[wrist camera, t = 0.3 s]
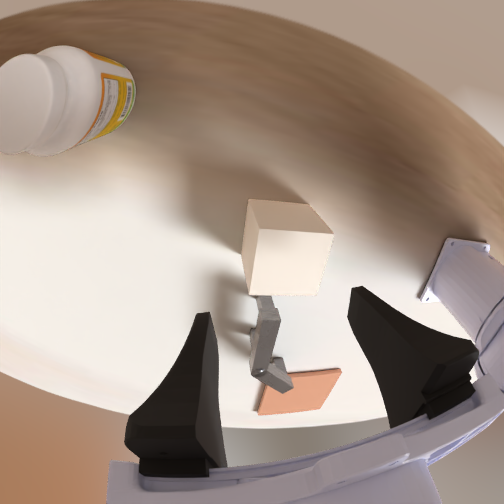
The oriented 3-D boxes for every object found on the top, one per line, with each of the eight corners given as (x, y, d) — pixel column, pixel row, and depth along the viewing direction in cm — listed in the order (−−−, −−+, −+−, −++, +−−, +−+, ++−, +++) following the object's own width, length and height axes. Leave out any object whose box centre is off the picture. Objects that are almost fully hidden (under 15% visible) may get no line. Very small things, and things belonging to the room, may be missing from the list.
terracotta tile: (340, 368, 31) (341, 372, 31) (318, 405, 36) (319, 408, 35) (268, 374, 30) (269, 378, 29) (257, 411, 34) (257, 415, 34)
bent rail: (308, 290, 24) (321, 319, 21) (284, 366, 29) (291, 393, 26) (255, 290, 24) (262, 320, 20) (241, 367, 29) (245, 396, 25)
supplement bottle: (55, 91, 13) (-41, 102, 5) (117, 45, 13) (41, 9, 5) (86, 151, 16) (2, 199, 8) (151, 108, 16) (91, 115, 7)
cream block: (308, 204, 21) (334, 234, 16) (296, 257, 23) (316, 295, 18) (248, 198, 20) (259, 228, 15) (240, 254, 22) (249, 295, 18)
